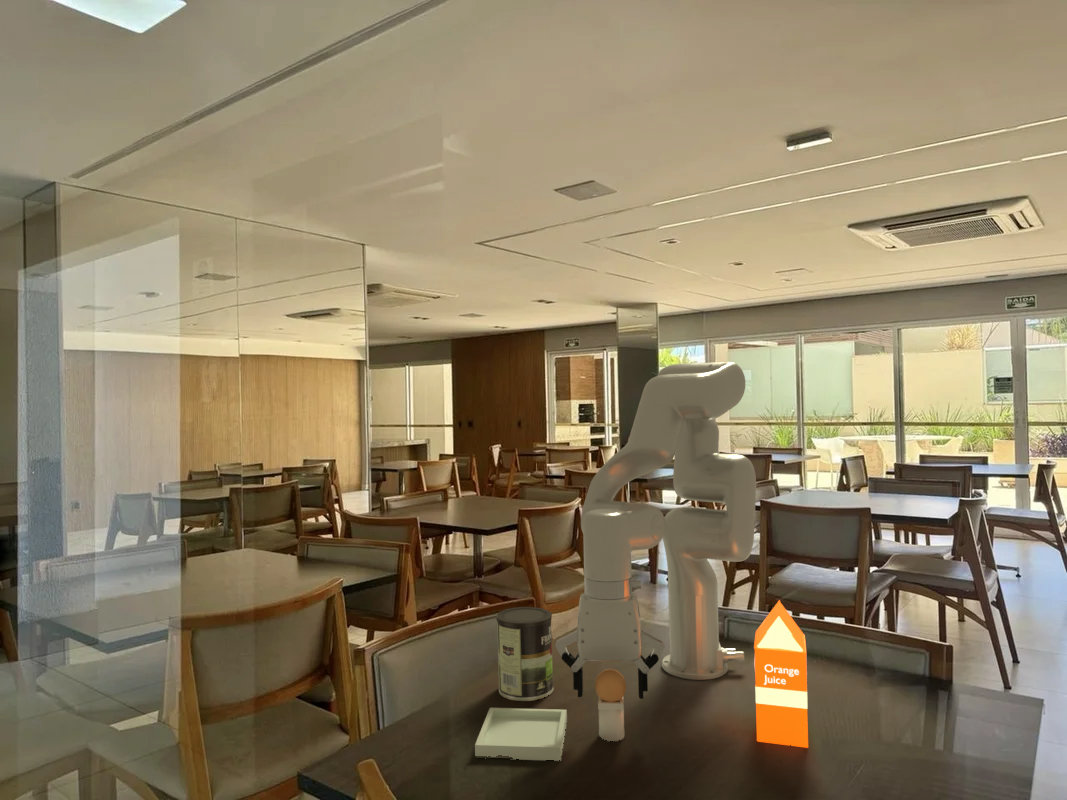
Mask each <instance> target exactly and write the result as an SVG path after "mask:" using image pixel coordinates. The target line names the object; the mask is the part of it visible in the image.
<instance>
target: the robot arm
mask: <svg viewBox="0 0 1067 800" xmlns="http://www.w3.org/2000/svg"><path fill="white" fill-rule="evenodd" d="M745 390H746V375H745V373H744V371H743V370H742V368H741V367H740V366H739V364H737V363H736V362H731V361H711V362H690V363H689V362H688V363H676V364H670V365H667V366H664V367H663V368H661V369H660V371H659V372H658V374H657V375H656V376H654V377H652V378H650V379H648V381H647V382H646V384H645V385H644V388H643V390H642V393H641V396H640V397H641V398H640V400H639V403H638V407H637V410H636V413H635V416H634V420H633V424H632V428H631V431H630V434H629V437H628V440H627V442H626V444H625V445H624V446H623V447H622V448H621V449H620V450H618V451H617V452H616V453H615V454H614V455H612V456H611V457H610V458H608V460H607V461H606V462H605V463H604V464H603V465H602V467H600V469H598V471H597V472H596V474H595V475H594V476H593V477H592V479H591V481H590V484H589V487H588V490H587V494H586V496H585V500H584V502H583V505H582V506H583V507H582V511H581V517H580V528H581V532H582V534H583V537H582V539H583V541H582V542H583V573H584V574H583V576H584V579H583V580H584V582H583V583H584V592H582V593H580V596H579V600H578V601H579V602H578V611H577V612H578V613H577V614H578V615H577V629H576V630H574V631H572V632H570V633H568V634H566V635H564V636H562V637H560V638H558V639H556V640H555V644H554V646H555V648H556V650H557V653H558V654H559V655H560V657H561V660H562V662H564V663H565V664H566V665H567V666H568V667H569V668H570V670H571V672H572V677H573V678H572V679H573V680H572V681H573V690H574V691H577V698H582V697H583V695H584V694H583V693H584V669H583V668H584V667H583V666H584V664H585V663H586V662H587V661H588V662H623V663H625V662H627V663H628V662H629V663H630V662H633V663H634V664H635V666H636V667H637V677H638V678H637V679H638V680H637V681H638V682H637V685H638V698H640V700H643V699H644V697H645V696H644V692H648V691H649V689H648V688H649V687H648V686H649V684H648V673H649V672H650V670H651V669H653V667H654V666H655V665H656V664H657V663H658V662H659V660H660V657H661V656H662V654H663V651H664V650H665V648H666V647H665V643H664V641H663V640H661V639H659V638H656V637H655V636H653V635H651V634H650V633H648V632H645V631H643V630H642V625H641V614H640V613H641V612H640V607H639V601H638V596H637V593H634V591H637V590H641V589H642V582H641V580H636V579H634V578H633V577H632V576H633V575H632V573H633V572H632V552H633V551H644V550H649V549H652V548H654V547H656V546H657V545H658V544H660V543H661V541H662V542H663V547H664V551H665V557H666V566H667V580H668V581H667V582H668V583H667V586H668V587H667V589H668V590H667V591H668V624H669V625H668V627H669V630H668V631H669V632H668V635H669V636H668V637H669V653H668V654H667V655H665V656H664V657H663V659H662V661H661V666H662V669H663V671H665V672H666V673H668V674H669V675H672V676H674V677H677V678H681V679H686V680H697V681H702V680H703V681H706V680H707V681H708V680H713V679H717V678H720V677H723V676H725V674H726V673H727V672H728V670H729V668H728V662H735V663H745V652H744V651H736V648H732V647H731V648H724V647H722V646H721V643H720V641H719V640H720V637H719V635H720V633H719V631H720V630H719V592H718V591H719V588H718V585H719V584H718V579H717V578H718V577H717V574H716V573H715V571H714V568H713V567H712V565H711V563H710V561H709V560H715V561H724V562H733V563H734V562H735V563H737V562H743V561H745V560H747V559H748V558H749V557H750V555H751V554H752V551H753V548H754V540H755V523H756V521H755V520H756V519H755V518H756V500H757V497H756V496H757V479H756V478H757V477H756V476H757V475H756V471H755V467H754V464H753V463H752V461H751V460H750V459H749V458H748V457H746V456H745V455H742V454H736V453H720V452H719V446H720V445H719V441H720V438H719V437H720V428H719V426H718V424H717V422H716V420H715V419H717V418H720V417H721V416H723V415H724V414H726V413H727V412H728V411H730V410H732V409H733V408H734V407H736V406H737V405H738V404H739V403H740V402H741V400H742V399H743V396H744V394H745ZM672 461H673V476H672V478H673V479H672V480H673V481H672V483H673V490H674V492H675V494H676V495H677V496H678V497H679V498H680V499H684V500H686V501H687V500H688V501H695V502H696V501H697V502H707V503H722V504H725V507H726V509H713V508H704V507H690V506H688V507H687V506H686V507H685V506H684V507H677V508H673V509H672V510H670V511H668V512H667V513H666V514H665V516H664V514H663V512H662V511H661V509H659V508H657V507H656V506H655V505H651V504H649V503H643V502H642V503H641V502H628V501H621V500H620V501H619V500H614V498H615V497H616V496H617V494H618V493H619V491H620V490H621V489H622V488H623V487H624V486H626V485H627V484H629V483H630V482H631V481H633V480H635V479H637V478H639V477H642V476H644V475H647V474H649V473H651V472H654V471H656V470H658V469H662V468H663V467H665V466H667V465H669V464H670V463H671V462H672ZM575 642H576V643H577V645H576V646H577V654H576V656H574V655H573V654H572V653H571V652H570V651H569V650H568V649H567V646H570V645H572V644H573V643H575ZM642 643H644V644H646V645H648V646H649V647H652V648H653V649H652V652H650V654H649V655H647V657H646V658H645V655H643V654H642V649H643V648H642V647H643V645H642Z"/></svg>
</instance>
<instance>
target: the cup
mask: <svg viewBox="0 0 1067 800" xmlns="http://www.w3.org/2000/svg"><path fill="white" fill-rule="evenodd" d="M597 696H598V695H597ZM624 700H625V698H624V696H623V697H622V698H621V699H620V700H619V701H617V702H605V701H603V700H602V699H601V698H600V697H599V696H598V697H597V710H598V736H599V738H600V737H601V738H602V739H601V738H600V739H601V740H603V739H604V740H603V741H605V740H607V741H606V742H610V741H613V742H614V741H615V742H619V740H620V741H622V740H624V738H625V705H624V704H625V703H624ZM613 742H612V743H613Z"/></svg>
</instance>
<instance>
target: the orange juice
mask: <svg viewBox="0 0 1067 800" xmlns="http://www.w3.org/2000/svg"><path fill="white" fill-rule="evenodd" d="M754 634H755V635H754V642H753V643H754V644H753V649H754V658H753V659H754V660H753V661H754V662H753V666H754V674H755V679H754V680H755V685H754V686H755V687H754V689H755V713H756V714H755V715H756V717H755V718H756V721H755V722H756V723H755V724H756V742H758V743H759V742H760V743H765V744H766V743H767V744H775V745H783V746H789V747H790V745H791V746H792V747H798V748H799V747H800V748H804V749H805V748H806V749H808V748H809V731H808V730H809V727H808V726H809V724H808V720H809V719H808V684H807V682H808V680H807V679H808V677H807V676H808V671H807V661H808V660H807V644H806V643H807V642H806V636H805V634H804V633H803V631H802V630H801V629H800V627H799V626H798V624H797V622H795V621H794V619H793V617H792V616H791V615H790V614H789V612H788V611H787V609H786V608H785V607H784V605H783V604H782V603H781V600H780V599H779V600H778V601H777V603H776V604H775V605H774V607H772V609H771V611H770V612H769V613H768V614H767V616H766V617H765V618H764V620H763V621H762V623H761V624H760V625H759V626H758V628H757V629H756V630H755V633H754Z"/></svg>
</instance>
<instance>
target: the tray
mask: <svg viewBox="0 0 1067 800" xmlns="http://www.w3.org/2000/svg"><path fill="white" fill-rule="evenodd" d="M567 711H568V710H567V709H559V708H558V709H553V708H552V709H551V708H517V707H515V708H514V707H513V708H512V707H489V709H488V711H487V714H486V717H485V718H484V721H483V724H482V727H481V729H480V731H479V734H478V736H477V738H476V741H475V744H474V757H475V756H487V757H488V756H491V757H496V756H498V755H502V756H509V757H512V758H513V759H512V760H516V759H519V760H520V761H521V760H523V761H526V760H527V761H546V760H554V761H553V762H561V761H562V757H563V750H564V744H563V743H564V742H565V737H564V736H566V731H565V729H566V730H567V724H568V712H567ZM566 723H567V724H566ZM562 749H563V750H562ZM561 756H562V757H561ZM559 760H560V761H559Z"/></svg>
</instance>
